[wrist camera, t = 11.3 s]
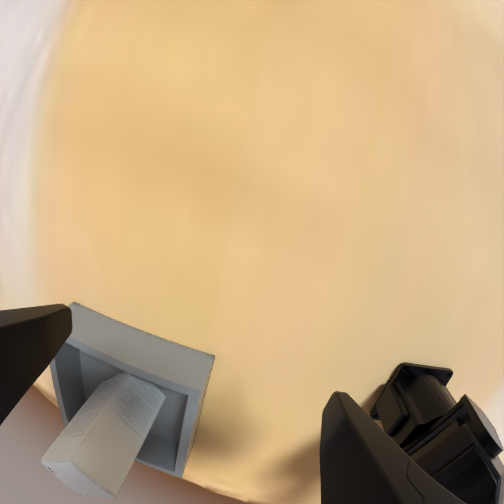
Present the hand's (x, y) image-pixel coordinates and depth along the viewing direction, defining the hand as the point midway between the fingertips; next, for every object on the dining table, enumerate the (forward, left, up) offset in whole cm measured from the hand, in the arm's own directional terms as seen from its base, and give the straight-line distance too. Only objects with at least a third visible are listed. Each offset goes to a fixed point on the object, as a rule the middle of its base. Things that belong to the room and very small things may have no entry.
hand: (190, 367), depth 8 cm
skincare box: (+7, +15, -12) cm, 20 cm away
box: (+7, +15, -12) cm, 20 cm away
